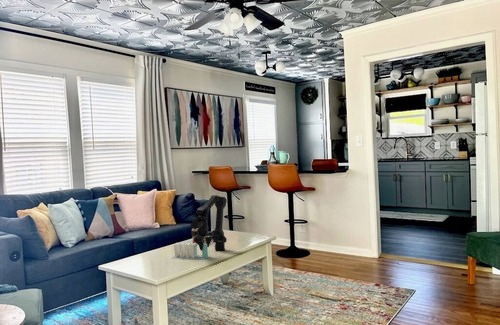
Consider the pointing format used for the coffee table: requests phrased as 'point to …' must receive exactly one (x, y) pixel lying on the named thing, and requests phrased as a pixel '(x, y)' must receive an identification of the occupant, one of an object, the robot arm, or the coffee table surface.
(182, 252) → the domino
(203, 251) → the domino
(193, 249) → the domino
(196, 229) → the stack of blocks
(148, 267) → the coffee table surface
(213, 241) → the robot arm
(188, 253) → the domino
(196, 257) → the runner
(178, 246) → the domino
